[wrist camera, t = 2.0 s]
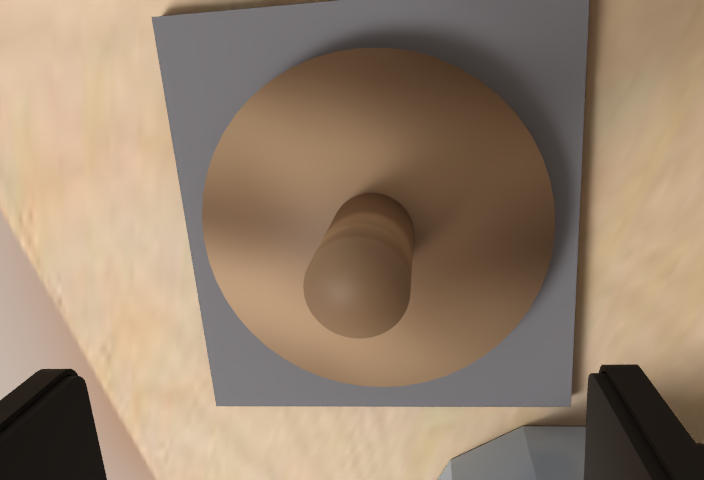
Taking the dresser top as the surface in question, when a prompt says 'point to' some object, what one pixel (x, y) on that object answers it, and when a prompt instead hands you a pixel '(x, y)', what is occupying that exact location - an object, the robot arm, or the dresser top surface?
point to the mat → (422, 37)
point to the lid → (378, 217)
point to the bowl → (524, 456)
